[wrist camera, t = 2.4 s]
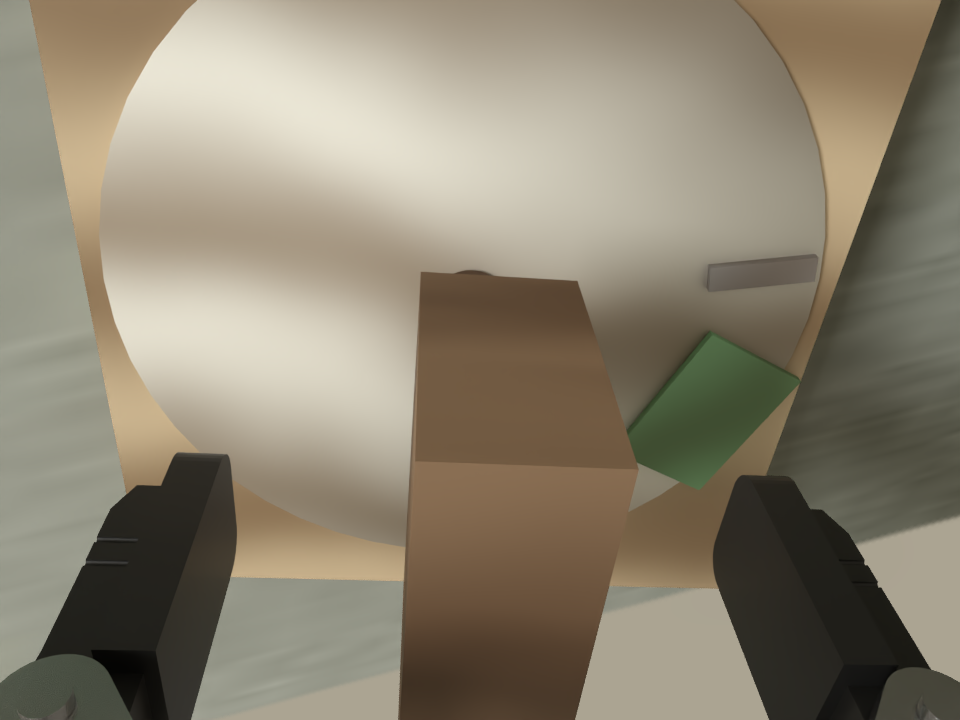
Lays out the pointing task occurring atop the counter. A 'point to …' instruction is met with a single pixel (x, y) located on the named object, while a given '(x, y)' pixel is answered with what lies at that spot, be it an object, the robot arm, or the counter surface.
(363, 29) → the dial board
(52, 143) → the counter surface
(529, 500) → the key
